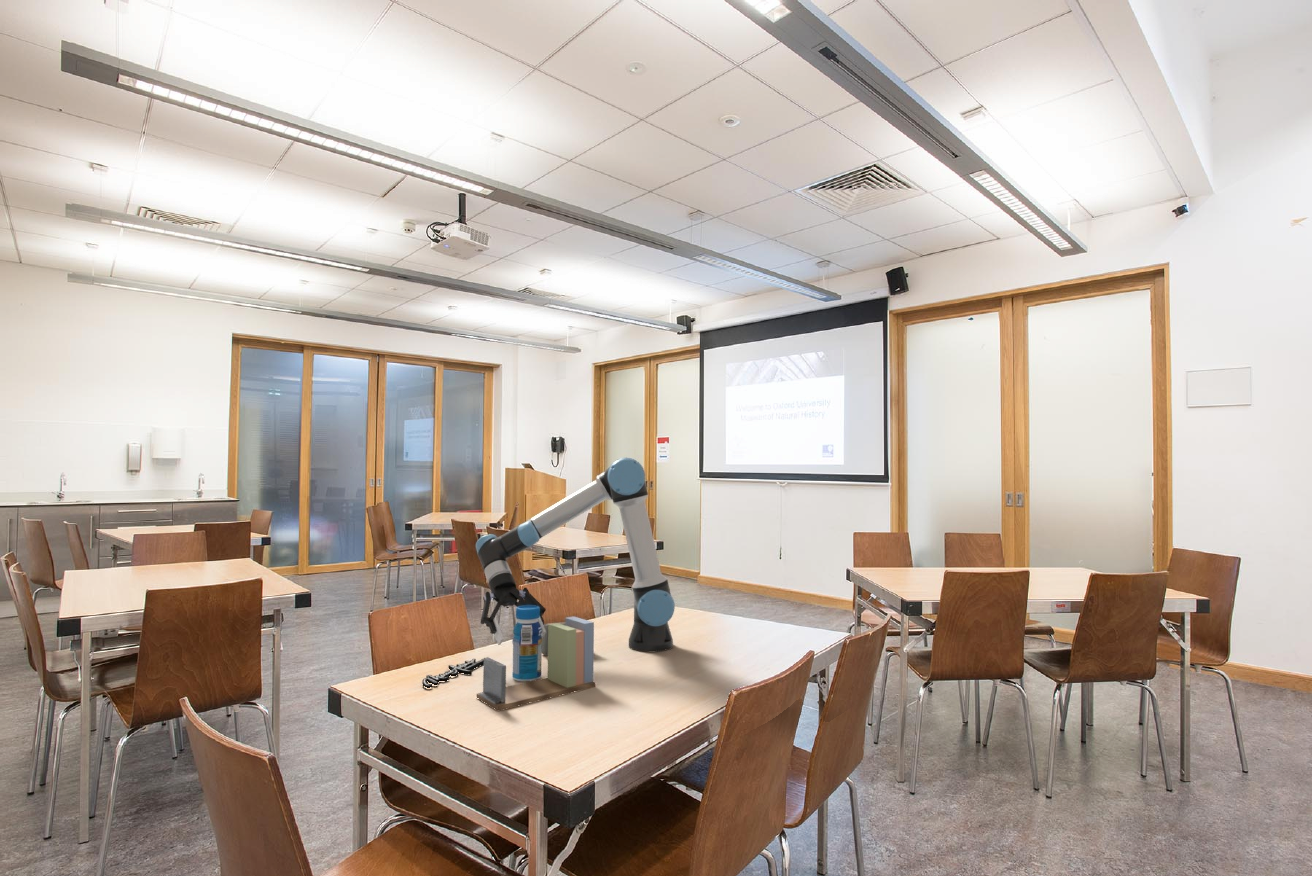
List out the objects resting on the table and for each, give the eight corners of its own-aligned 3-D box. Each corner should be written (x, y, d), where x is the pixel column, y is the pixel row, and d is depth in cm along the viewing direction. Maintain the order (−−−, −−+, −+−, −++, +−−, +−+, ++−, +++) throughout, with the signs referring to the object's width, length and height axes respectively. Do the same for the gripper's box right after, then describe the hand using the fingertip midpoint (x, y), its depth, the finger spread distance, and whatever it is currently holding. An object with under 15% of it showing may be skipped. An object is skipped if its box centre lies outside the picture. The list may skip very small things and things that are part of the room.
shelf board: (571, 676, 185) (571, 672, 185) (595, 686, 176) (595, 682, 176) (476, 698, 166) (476, 693, 166) (497, 711, 157) (497, 706, 157)
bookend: (487, 692, 167) (488, 657, 168) (505, 702, 159) (506, 665, 160) (478, 694, 165) (479, 658, 166) (496, 704, 158) (496, 667, 158)
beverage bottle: (505, 679, 182) (506, 607, 184) (526, 671, 189) (528, 602, 191) (526, 684, 178) (528, 611, 179) (548, 676, 185) (549, 606, 186)
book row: (573, 673, 184) (573, 616, 185) (593, 681, 177) (593, 622, 178) (547, 678, 179) (548, 620, 180) (567, 687, 171) (567, 626, 172)
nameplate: (441, 686, 172) (409, 683, 174) (441, 692, 172) (409, 689, 174) (493, 659, 198) (464, 656, 201) (493, 664, 198) (464, 661, 201)
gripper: (532, 582, 207) (555, 639, 195) (457, 590, 191) (477, 653, 179) (540, 568, 203) (564, 624, 191) (465, 575, 187) (486, 637, 175)
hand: (522, 638), depth 185 cm, fingers open, 13 cm apart
